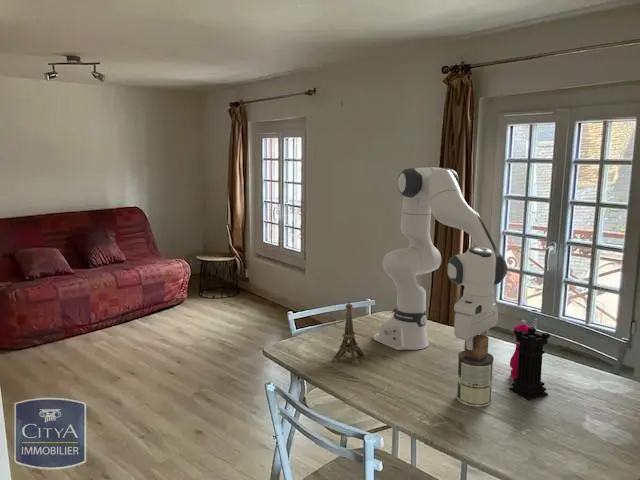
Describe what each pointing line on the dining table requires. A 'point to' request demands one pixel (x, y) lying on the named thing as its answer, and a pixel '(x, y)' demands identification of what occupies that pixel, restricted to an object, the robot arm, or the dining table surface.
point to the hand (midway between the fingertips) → (476, 346)
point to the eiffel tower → (347, 346)
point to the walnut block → (478, 348)
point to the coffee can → (475, 380)
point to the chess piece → (530, 364)
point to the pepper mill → (515, 357)
